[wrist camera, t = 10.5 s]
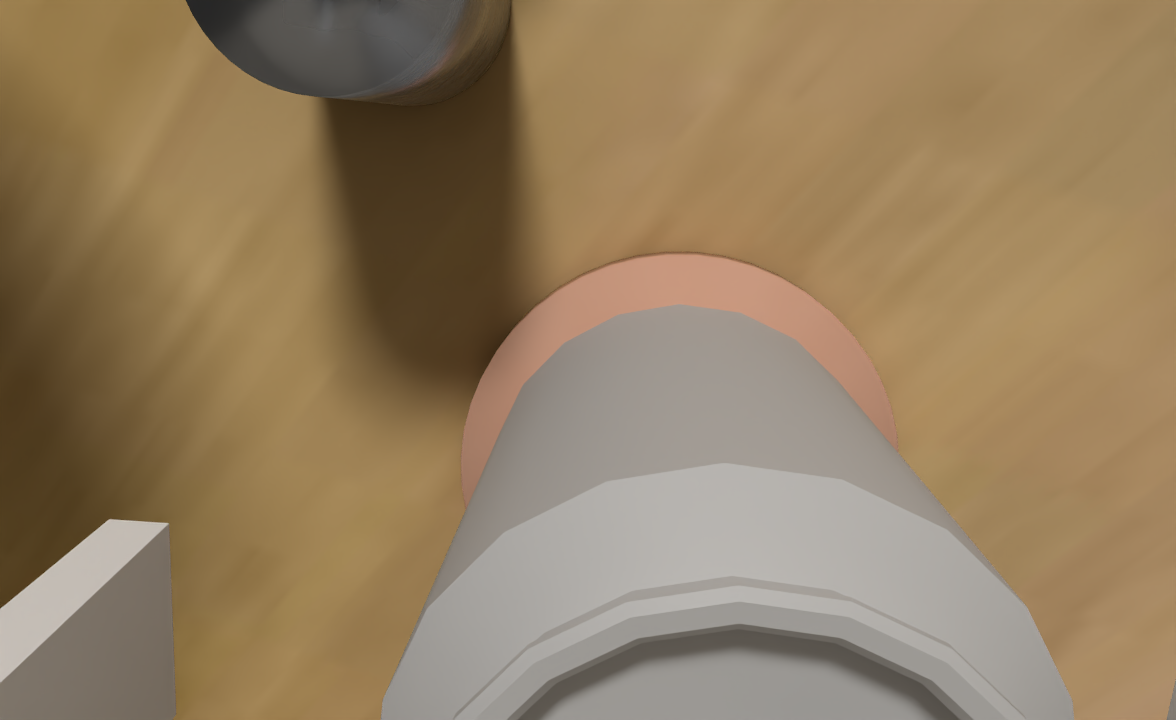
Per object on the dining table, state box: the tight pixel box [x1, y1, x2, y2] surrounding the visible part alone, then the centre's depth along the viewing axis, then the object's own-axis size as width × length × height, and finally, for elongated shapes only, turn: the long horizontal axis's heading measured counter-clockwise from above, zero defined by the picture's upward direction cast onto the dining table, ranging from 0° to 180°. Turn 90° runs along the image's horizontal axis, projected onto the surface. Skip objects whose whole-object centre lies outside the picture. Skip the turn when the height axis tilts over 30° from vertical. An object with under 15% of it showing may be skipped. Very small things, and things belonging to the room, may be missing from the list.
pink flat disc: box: [461, 252, 898, 509], centre depth 21 cm, size 9×9×1 cm
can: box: [381, 304, 1074, 720], centre depth 15 cm, size 8×8×12 cm
